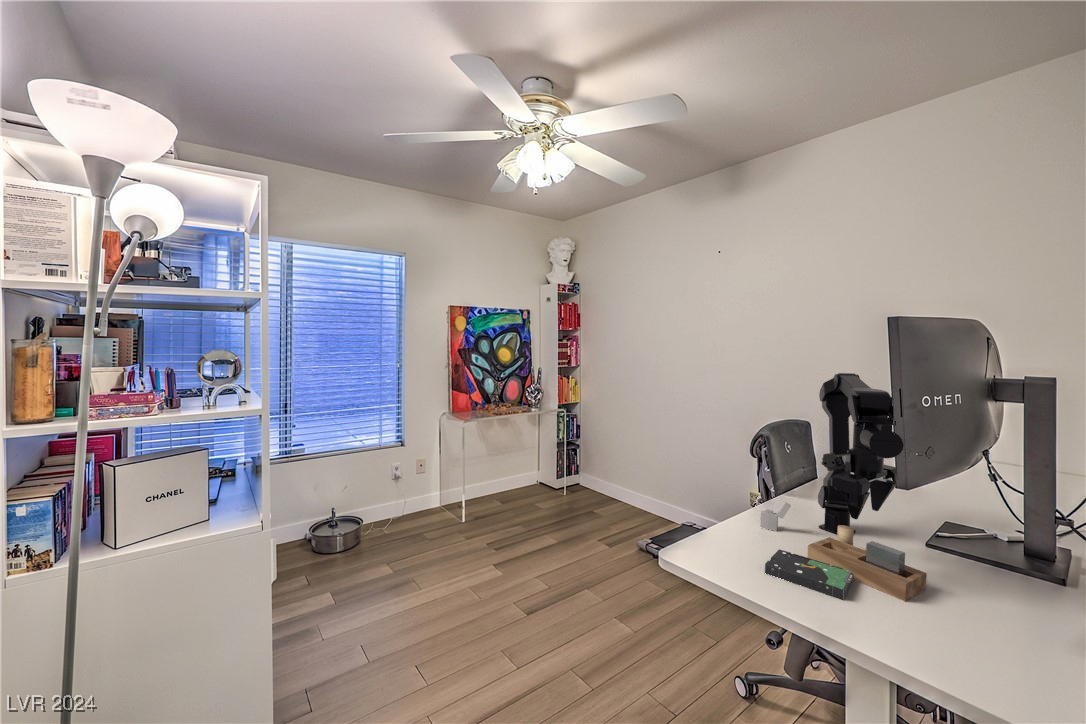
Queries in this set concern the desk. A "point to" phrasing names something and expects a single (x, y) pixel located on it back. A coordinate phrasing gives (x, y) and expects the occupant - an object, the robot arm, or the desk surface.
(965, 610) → the desk surface
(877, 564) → the tall grey rectangular prism
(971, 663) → the desk surface
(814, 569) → the disk drive
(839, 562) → the socket board
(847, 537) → the round dowel
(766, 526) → the lighter
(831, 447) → the robot arm
